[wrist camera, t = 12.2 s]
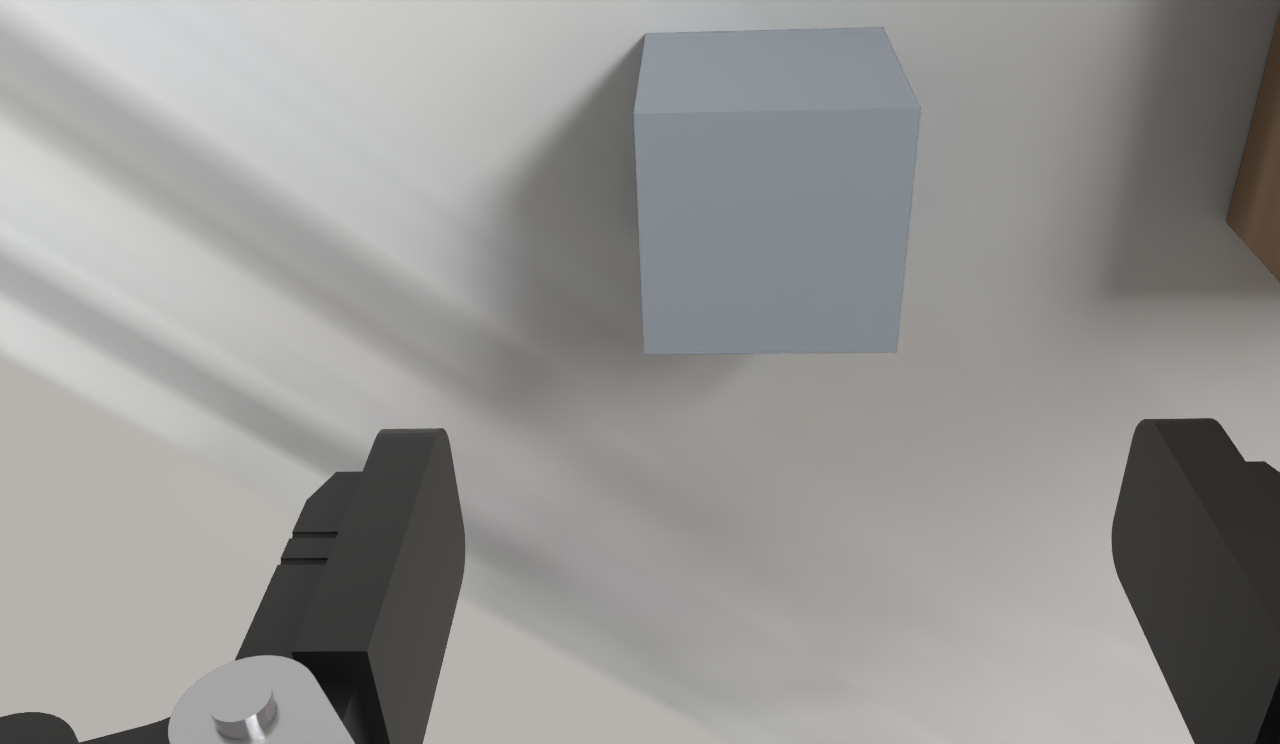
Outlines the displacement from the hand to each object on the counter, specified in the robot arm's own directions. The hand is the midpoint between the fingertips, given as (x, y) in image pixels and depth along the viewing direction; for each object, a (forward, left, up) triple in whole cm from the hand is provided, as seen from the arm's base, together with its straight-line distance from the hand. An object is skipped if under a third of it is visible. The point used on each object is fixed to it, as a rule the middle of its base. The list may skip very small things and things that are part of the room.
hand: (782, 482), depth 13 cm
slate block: (0, 0, -11) cm, 11 cm away
